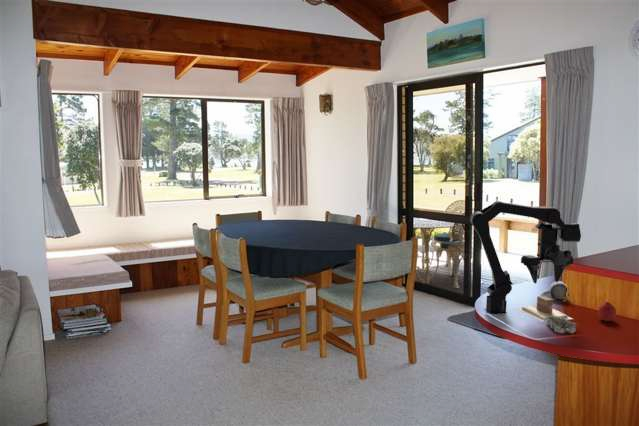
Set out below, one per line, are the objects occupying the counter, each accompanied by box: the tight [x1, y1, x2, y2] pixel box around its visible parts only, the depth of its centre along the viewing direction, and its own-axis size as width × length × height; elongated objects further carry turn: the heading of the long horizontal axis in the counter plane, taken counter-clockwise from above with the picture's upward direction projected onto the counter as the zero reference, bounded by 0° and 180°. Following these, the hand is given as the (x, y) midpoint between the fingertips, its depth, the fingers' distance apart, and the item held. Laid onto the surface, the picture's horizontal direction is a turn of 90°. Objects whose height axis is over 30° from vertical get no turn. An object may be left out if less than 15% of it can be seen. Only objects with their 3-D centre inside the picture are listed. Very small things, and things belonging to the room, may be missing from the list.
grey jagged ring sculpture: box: [546, 316, 578, 336], centre depth 190 cm, size 11×8×4 cm
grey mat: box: [515, 307, 574, 323], centre depth 206 cm, size 13×16×1 cm
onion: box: [597, 299, 617, 322], centre depth 198 cm, size 6×6×8 cm
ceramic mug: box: [540, 280, 571, 302], centre depth 227 cm, size 11×8×8 cm
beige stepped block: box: [521, 295, 569, 320], centre depth 206 cm, size 10×13×6 cm
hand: (545, 282), depth 204 cm, fingers open, 9 cm apart
